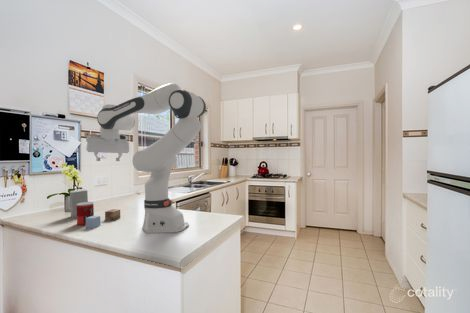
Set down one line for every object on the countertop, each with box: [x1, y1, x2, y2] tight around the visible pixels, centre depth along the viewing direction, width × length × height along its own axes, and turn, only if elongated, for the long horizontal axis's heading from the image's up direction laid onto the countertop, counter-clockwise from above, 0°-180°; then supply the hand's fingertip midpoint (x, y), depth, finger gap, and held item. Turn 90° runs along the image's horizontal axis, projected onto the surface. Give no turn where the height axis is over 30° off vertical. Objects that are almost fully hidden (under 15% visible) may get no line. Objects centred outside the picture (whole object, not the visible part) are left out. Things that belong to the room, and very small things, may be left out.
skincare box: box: [69, 188, 89, 219], centre depth 140 cm, size 8×7×16 cm
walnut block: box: [104, 208, 121, 221], centre depth 131 cm, size 6×6×5 cm
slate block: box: [85, 215, 101, 229], centre depth 118 cm, size 4×4×5 cm
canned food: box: [76, 201, 95, 226], centre depth 123 cm, size 8×8×11 cm
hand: (108, 161), depth 124 cm, fingers open, 8 cm apart
